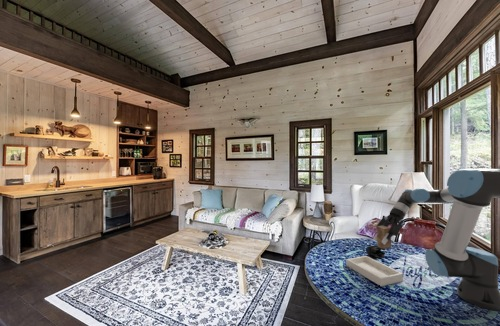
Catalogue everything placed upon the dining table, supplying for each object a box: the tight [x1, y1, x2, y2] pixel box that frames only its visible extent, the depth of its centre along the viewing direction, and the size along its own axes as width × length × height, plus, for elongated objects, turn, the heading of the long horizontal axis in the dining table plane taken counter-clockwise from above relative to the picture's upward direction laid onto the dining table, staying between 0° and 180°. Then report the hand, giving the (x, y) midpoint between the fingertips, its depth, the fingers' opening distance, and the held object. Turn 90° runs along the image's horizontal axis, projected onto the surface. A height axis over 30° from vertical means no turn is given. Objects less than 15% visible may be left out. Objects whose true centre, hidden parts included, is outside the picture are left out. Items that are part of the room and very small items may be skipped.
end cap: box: [365, 244, 386, 260], centre depth 148 cm, size 10×7×7 cm
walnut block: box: [376, 225, 392, 250], centre depth 128 cm, size 5×5×12 cm
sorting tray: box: [345, 255, 404, 287], centre depth 124 cm, size 24×16×4 cm, turn 19°
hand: (379, 241), depth 127 cm, fingers closed on walnut block, 5 cm apart
